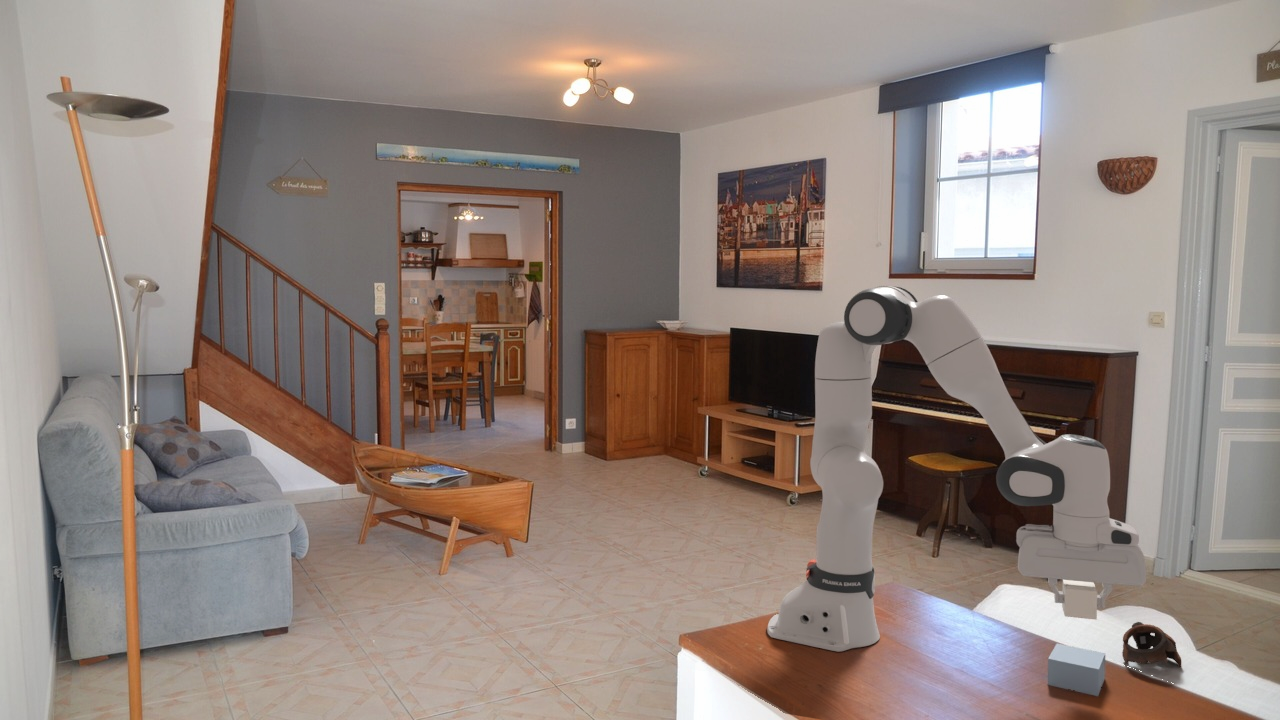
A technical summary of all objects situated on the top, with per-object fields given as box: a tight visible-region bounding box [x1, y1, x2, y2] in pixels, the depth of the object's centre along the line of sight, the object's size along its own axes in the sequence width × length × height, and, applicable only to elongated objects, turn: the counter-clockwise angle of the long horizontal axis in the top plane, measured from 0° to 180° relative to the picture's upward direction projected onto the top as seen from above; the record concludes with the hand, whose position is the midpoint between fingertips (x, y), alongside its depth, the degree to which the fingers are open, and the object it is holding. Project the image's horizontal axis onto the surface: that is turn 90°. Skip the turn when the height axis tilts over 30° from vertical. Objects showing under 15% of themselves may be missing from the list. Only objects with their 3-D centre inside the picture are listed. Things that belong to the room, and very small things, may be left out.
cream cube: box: [1061, 579, 1098, 621], centre depth 154 cm, size 5×5×5 cm
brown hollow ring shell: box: [1121, 621, 1182, 668], centre depth 163 cm, size 12×10×8 cm
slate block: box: [1047, 643, 1106, 697], centre depth 155 cm, size 8×8×5 cm
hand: (1079, 604), depth 154 cm, fingers closed on cream cube, 5 cm apart
